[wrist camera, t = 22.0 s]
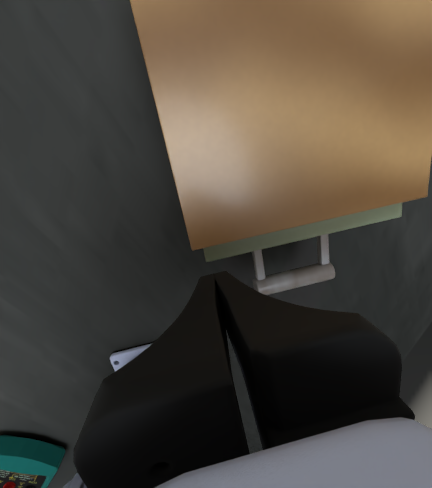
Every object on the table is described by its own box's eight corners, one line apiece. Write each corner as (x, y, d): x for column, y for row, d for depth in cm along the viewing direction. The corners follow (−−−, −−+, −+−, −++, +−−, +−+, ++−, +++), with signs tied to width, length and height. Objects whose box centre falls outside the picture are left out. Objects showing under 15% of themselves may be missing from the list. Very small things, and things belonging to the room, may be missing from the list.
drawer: (334, 250, 22) (396, 283, 15) (210, 280, 21) (221, 327, 14) (327, 0, 16) (426, -123, 9) (153, 29, 15) (126, -82, 8)
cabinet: (332, 188, 21) (427, 196, 13) (189, 219, 20) (191, 250, 12) (326, -33, 16) (476, -256, 8) (136, -3, 15) (76, -215, 7)
